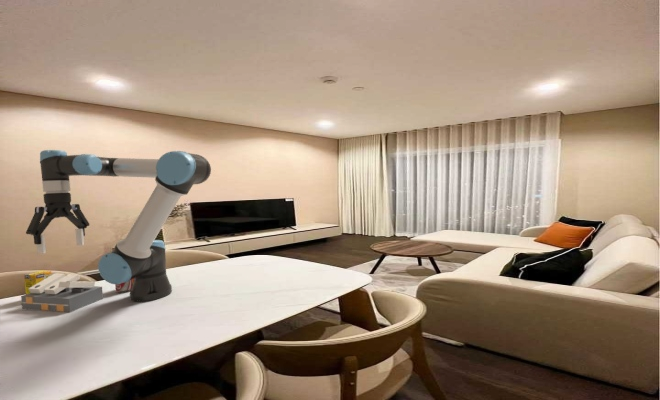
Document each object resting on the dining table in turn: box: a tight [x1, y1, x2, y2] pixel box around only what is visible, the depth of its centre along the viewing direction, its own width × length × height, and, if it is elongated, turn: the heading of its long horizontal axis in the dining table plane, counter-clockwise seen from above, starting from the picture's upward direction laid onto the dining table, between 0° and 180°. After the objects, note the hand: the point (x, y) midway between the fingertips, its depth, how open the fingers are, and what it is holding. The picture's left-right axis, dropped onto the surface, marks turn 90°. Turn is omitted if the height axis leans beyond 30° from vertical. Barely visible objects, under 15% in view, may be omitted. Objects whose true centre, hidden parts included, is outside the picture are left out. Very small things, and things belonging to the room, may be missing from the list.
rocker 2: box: [43, 273, 81, 294], centre depth 117 cm, size 5×10×2 cm, turn 170°
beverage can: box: [114, 278, 134, 294], centre depth 132 cm, size 8×8×12 cm
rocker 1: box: [29, 272, 66, 294], centre depth 119 cm, size 5×10×2 cm, turn 170°
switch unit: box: [20, 285, 104, 313], centre depth 118 cm, size 22×13×6 cm, turn 80°
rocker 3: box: [58, 280, 96, 288], centre depth 116 cm, size 5×10×2 cm, turn 170°
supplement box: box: [23, 270, 52, 295], centre depth 123 cm, size 6×6×11 cm
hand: (62, 249), depth 113 cm, fingers open, 13 cm apart
